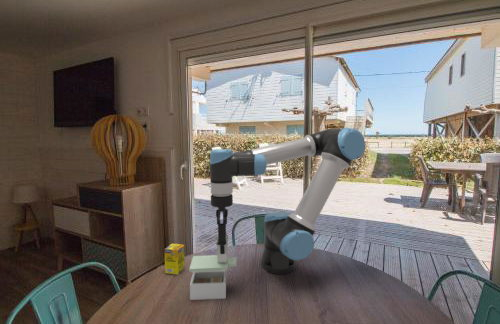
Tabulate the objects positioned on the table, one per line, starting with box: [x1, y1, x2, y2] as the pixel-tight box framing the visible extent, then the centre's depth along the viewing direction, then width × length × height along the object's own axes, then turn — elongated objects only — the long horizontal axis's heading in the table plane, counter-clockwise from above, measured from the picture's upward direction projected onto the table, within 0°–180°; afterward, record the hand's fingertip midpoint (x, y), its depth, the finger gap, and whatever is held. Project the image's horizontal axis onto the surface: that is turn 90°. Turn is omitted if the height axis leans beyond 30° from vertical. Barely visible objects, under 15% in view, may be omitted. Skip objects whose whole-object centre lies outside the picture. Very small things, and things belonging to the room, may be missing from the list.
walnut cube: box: [196, 278, 208, 283], centre depth 96 cm, size 4×4×4 cm
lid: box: [188, 234, 237, 273], centre depth 95 cm, size 16×10×10 cm, turn 94°
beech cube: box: [210, 278, 222, 283], centre depth 97 cm, size 4×4×4 cm
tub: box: [189, 270, 227, 301], centre depth 96 cm, size 12×9×6 cm
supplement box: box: [164, 243, 185, 276], centre depth 111 cm, size 6×6×11 cm
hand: (222, 259), depth 96 cm, fingers closed on lid, 3 cm apart
